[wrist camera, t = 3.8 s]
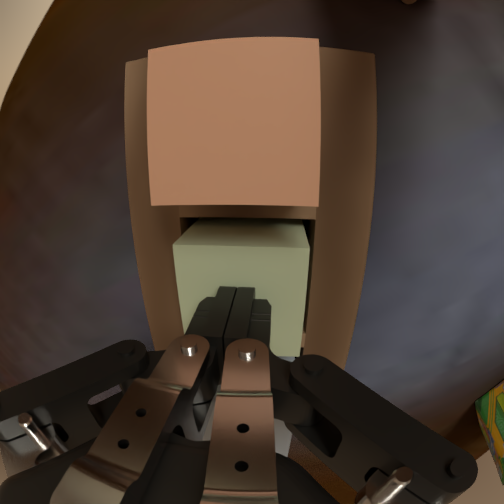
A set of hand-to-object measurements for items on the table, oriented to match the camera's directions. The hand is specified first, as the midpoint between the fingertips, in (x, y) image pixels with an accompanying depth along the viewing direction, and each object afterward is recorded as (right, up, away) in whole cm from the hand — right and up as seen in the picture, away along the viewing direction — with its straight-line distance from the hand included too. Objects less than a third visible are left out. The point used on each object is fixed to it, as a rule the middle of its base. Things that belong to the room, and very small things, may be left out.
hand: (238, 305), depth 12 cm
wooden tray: (+1, +2, +5) cm, 6 cm away
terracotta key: (0, +8, 0) cm, 8 cm away
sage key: (+1, +2, +5) cm, 5 cm away
